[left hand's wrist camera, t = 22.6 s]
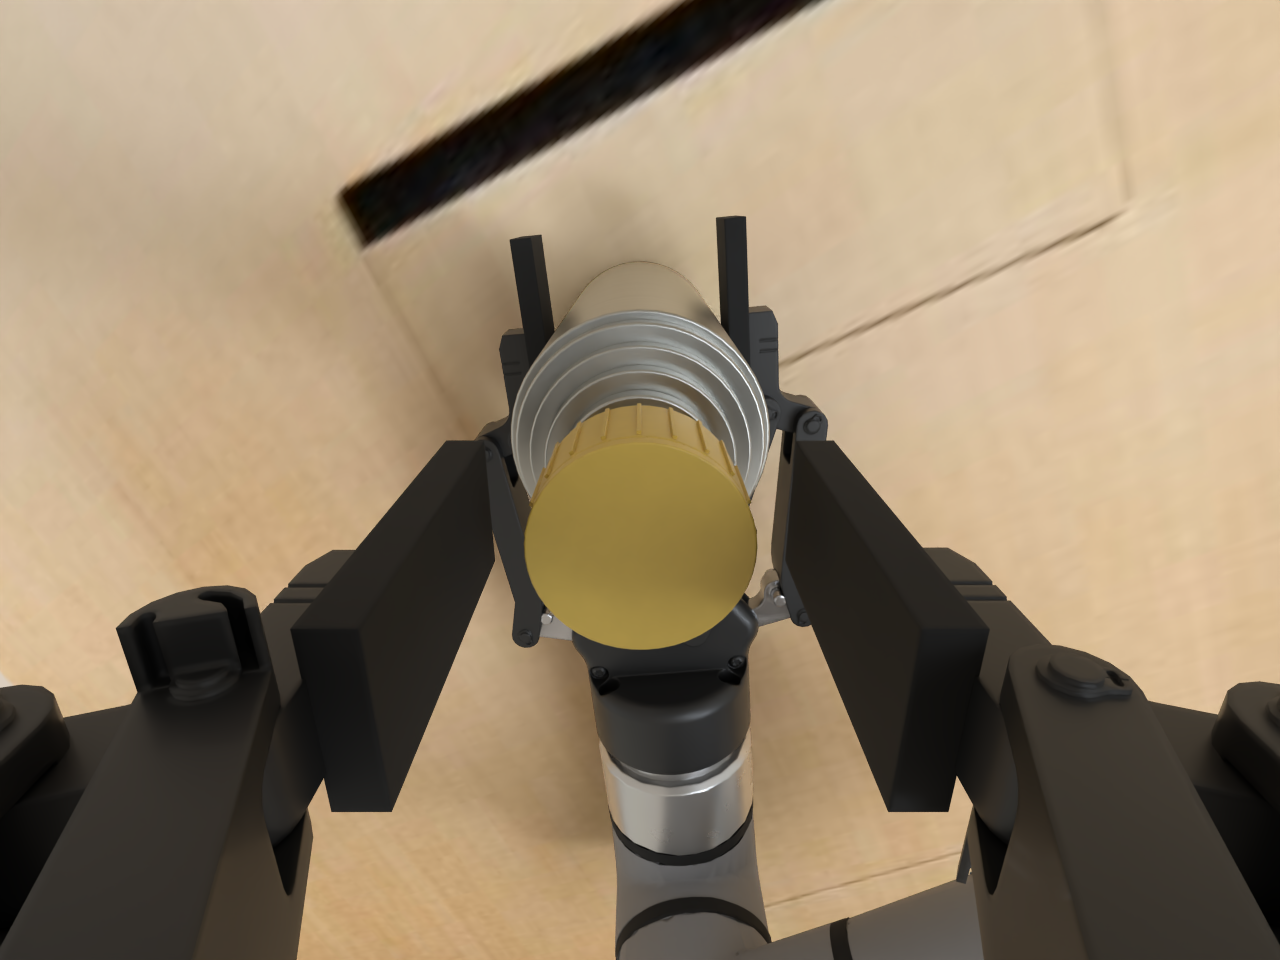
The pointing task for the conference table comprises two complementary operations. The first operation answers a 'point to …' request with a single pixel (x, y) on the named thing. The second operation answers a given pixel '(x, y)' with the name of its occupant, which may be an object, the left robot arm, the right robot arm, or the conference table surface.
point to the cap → (640, 529)
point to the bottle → (640, 369)
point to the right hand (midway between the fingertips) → (627, 228)
